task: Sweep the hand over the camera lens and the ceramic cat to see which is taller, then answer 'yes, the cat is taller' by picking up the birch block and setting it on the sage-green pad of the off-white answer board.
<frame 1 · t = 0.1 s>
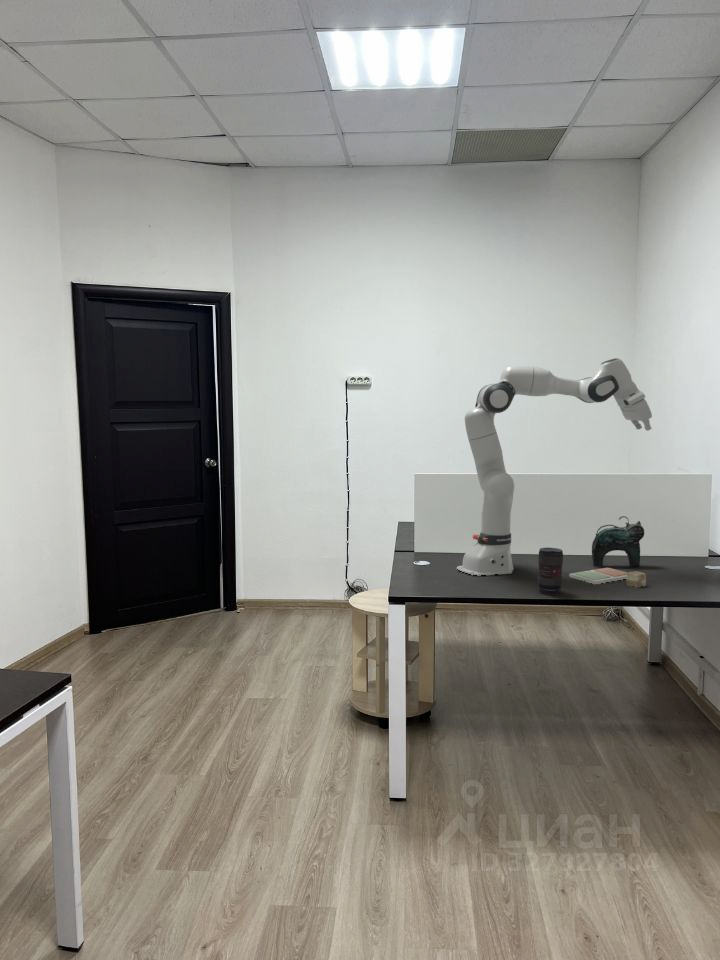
hand: (644, 429, 277), 54 cm above the table, tool tilted 30°, fingers open, 8 cm apart
camera lens: (549, 592, 250), on the table
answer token: (635, 585, 259), on the table
ceramic cat: (617, 566, 288), on the table
answer board: (601, 577, 270), on the table
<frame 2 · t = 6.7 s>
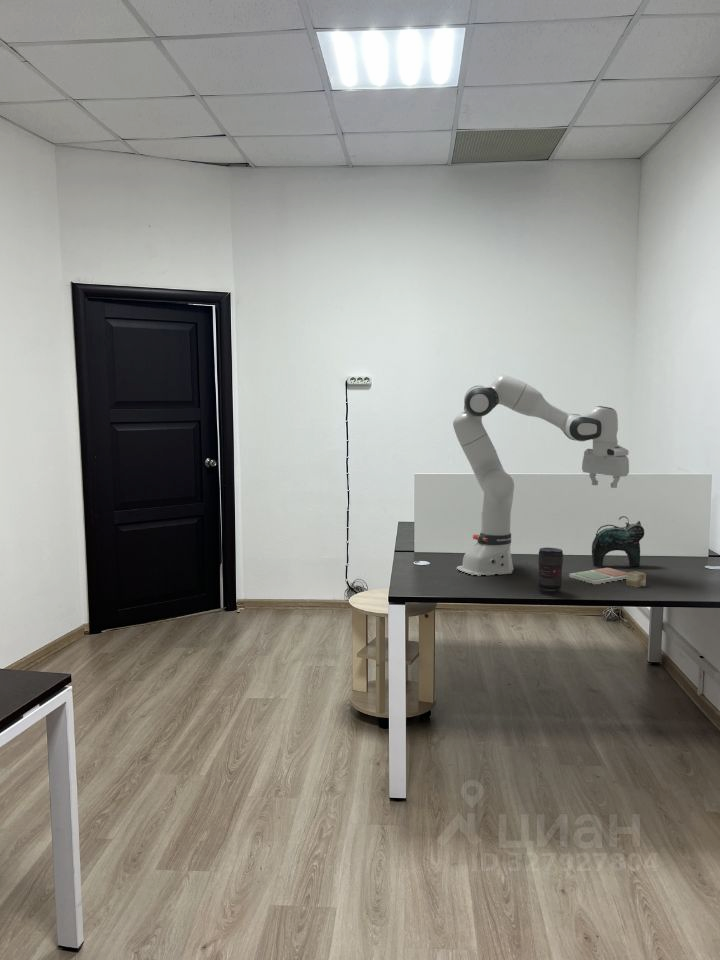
hand: (604, 486, 273), 33 cm above the table, tool pointing down, fingers open, 8 cm apart
nothing on the table moved.
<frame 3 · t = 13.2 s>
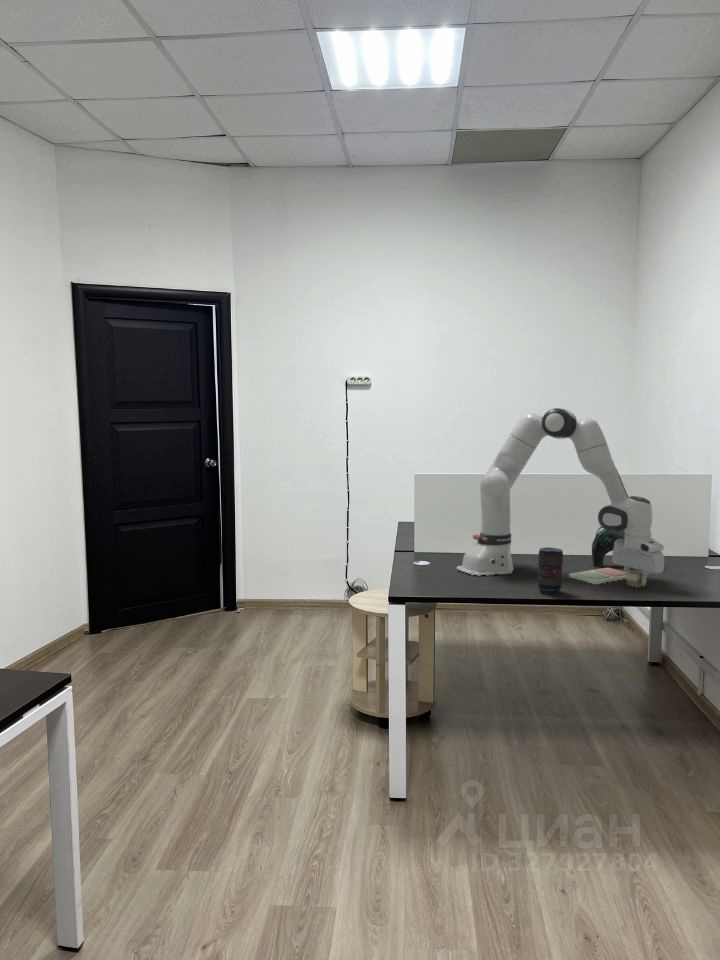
hand: (636, 580, 258), 2 cm above the table, tool pointing down, fingers closed on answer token, 4 cm apart
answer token: (635, 585, 259), on the table, touching gripper
everything else where it was.
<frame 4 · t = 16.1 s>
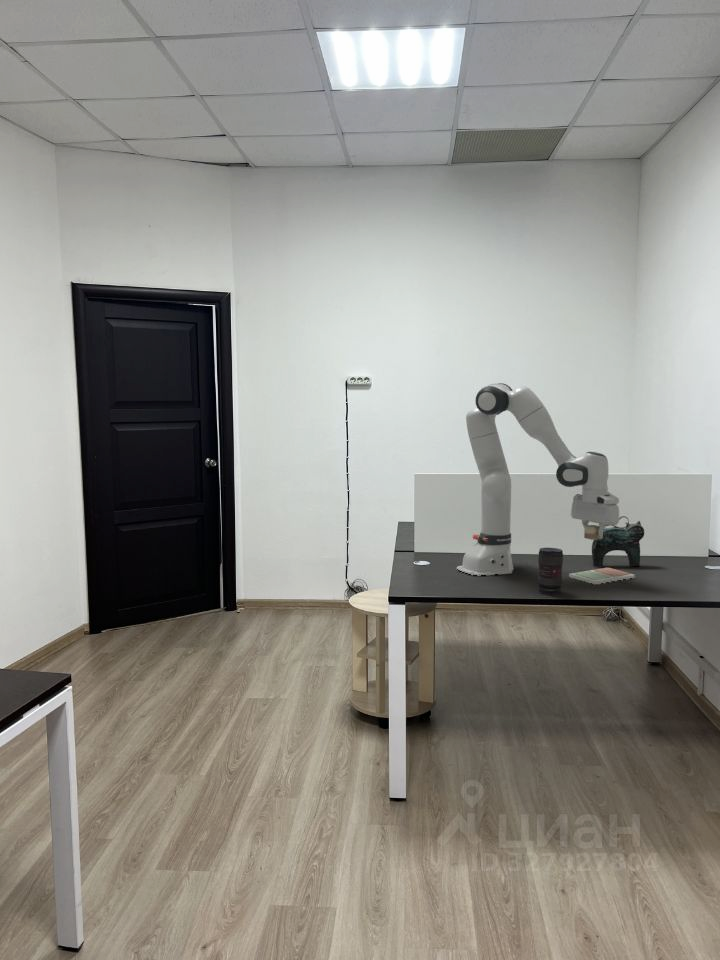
hand: (593, 534, 266), 17 cm above the table, tool pointing down, fingers closed on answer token, 4 cm apart
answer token: (593, 538, 266), point 15 cm above the table, touching gripper
everything else where it was.
when the fingers open (5 cm above the table, at t = 19.1 s): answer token drops 1 cm, resting on answer board.
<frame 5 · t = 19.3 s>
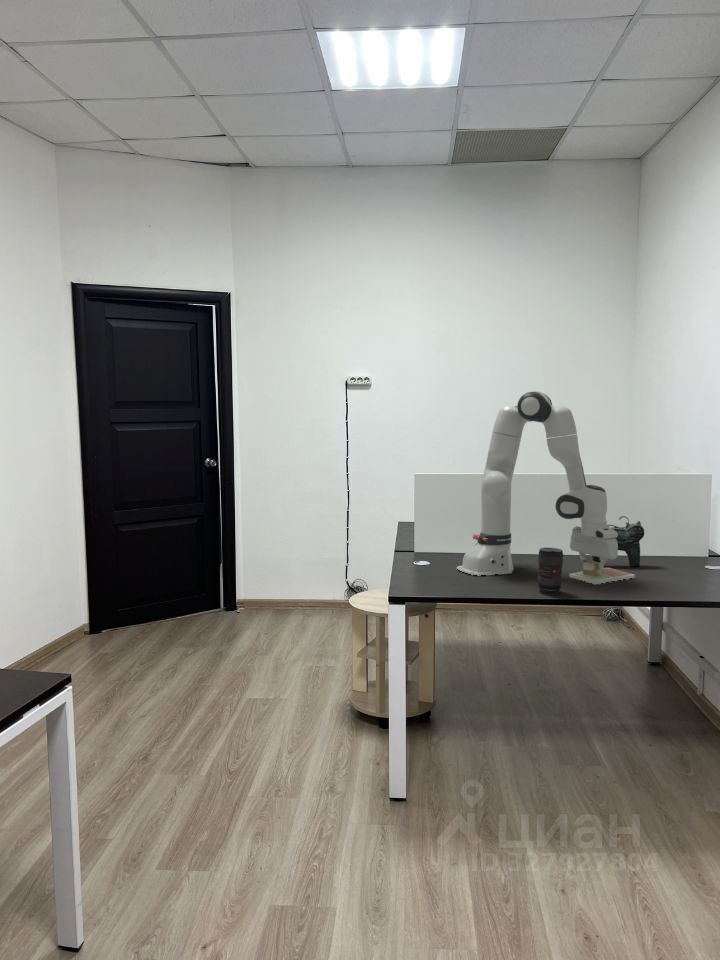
hand: (592, 566, 267), 5 cm above the table, tool pointing down, fingers open, 6 cm apart
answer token: (592, 574, 267), point 2 cm above the table, touching answer board
everything else where it was.
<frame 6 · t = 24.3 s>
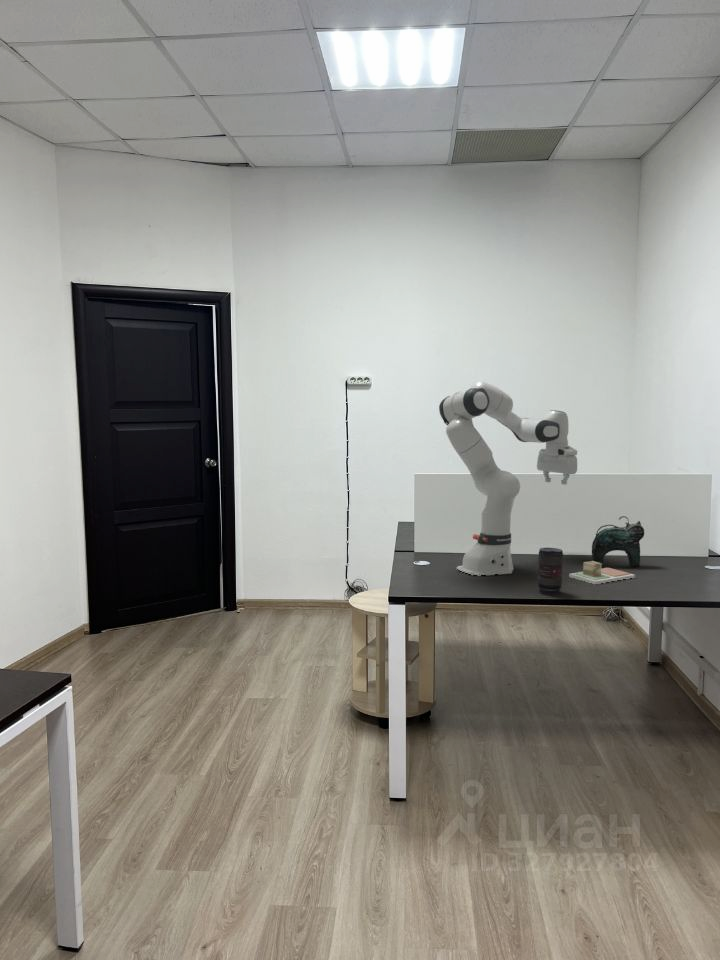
hand: (555, 483, 301), 31 cm above the table, tool pointing down, fingers open, 8 cm apart
nothing on the table moved.
at the end: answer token inside the target area on the answer board (0.0 cm from its centre), point 1.6 cm above the answer board's base; the gripper is holding nothing; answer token touching answer board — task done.
